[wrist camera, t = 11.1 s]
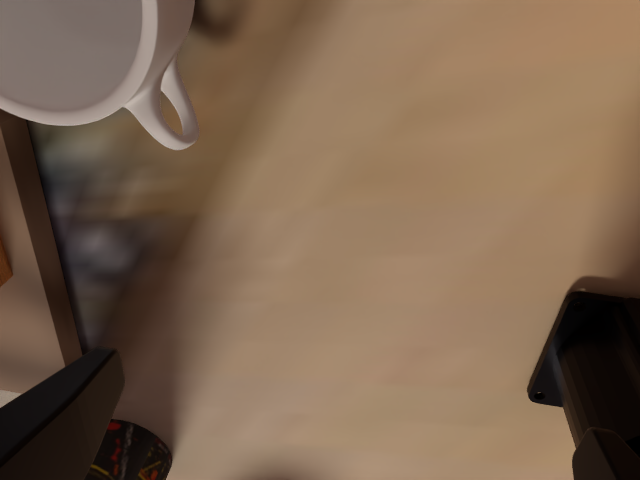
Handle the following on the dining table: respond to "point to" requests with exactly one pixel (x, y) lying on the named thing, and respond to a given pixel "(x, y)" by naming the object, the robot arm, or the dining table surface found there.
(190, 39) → the dining table surface
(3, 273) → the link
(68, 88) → the teacup
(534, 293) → the dining table surface
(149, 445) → the deodorant
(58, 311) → the board
